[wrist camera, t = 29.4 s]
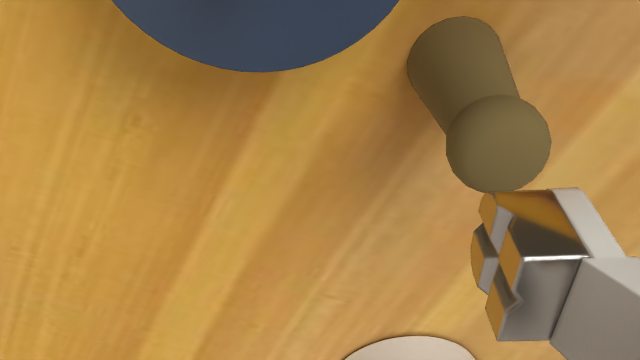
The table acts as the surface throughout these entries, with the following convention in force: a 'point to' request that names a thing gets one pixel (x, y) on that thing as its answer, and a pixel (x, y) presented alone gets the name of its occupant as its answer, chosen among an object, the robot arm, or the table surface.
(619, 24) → the table surface
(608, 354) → the robot arm
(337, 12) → the pot lid
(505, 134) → the brown pawn piece
